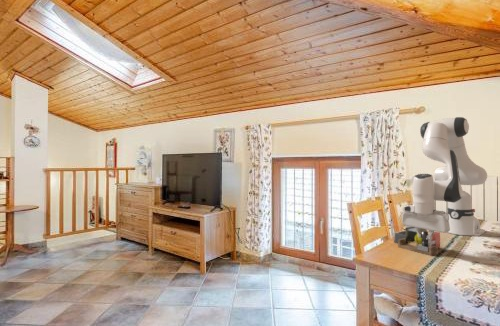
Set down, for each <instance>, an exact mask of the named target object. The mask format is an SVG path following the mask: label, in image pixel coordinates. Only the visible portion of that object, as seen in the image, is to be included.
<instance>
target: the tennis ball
mask: <svg viewBox="0 0 500 326" xmlns="http://www.w3.org/2000/svg"><path fill="white" fill-rule="evenodd" d="M428 240H429V239H428ZM414 242H415V243H416V245H418V244H422V238H420V237H418V233H417V234H416V235H415V241H414Z"/></svg>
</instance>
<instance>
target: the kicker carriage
mask: <svg viewBox="0 0 500 326" xmlns="http://www.w3.org/2000/svg"><path fill="white" fill-rule="evenodd" d="M421 233H422V244H416V246H417V249H418V250H422V251H426V252H429V247H431V246H437V248H440V247H441V232H437V231H435V232H434V234H433V235H432V240H428V239H427V235H429V230H427V231H421Z"/></svg>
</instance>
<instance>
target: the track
mask: <svg viewBox="0 0 500 326" xmlns="http://www.w3.org/2000/svg"><path fill="white" fill-rule="evenodd" d="M397 247H398V248H400V249H405V250H408V251H411V252H414V253H415V252H416V253H420V254H422V255H426V256H430V257H432V256H436V255H438V247H437V246H431V247H429V252H426V251H422V250H418V249H417V245H413V244H410V243H408V244H406V239H405V238H403V239H399V240H398V243H397Z"/></svg>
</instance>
